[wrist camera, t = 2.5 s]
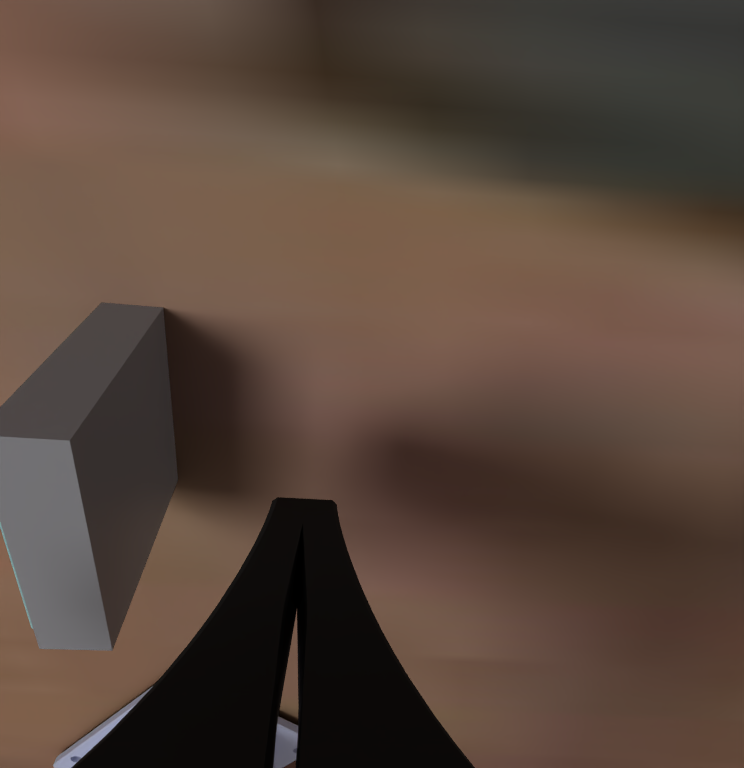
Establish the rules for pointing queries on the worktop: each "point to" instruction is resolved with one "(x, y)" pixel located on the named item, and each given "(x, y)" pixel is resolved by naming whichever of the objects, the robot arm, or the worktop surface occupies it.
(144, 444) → the tile
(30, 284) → the worktop surface
